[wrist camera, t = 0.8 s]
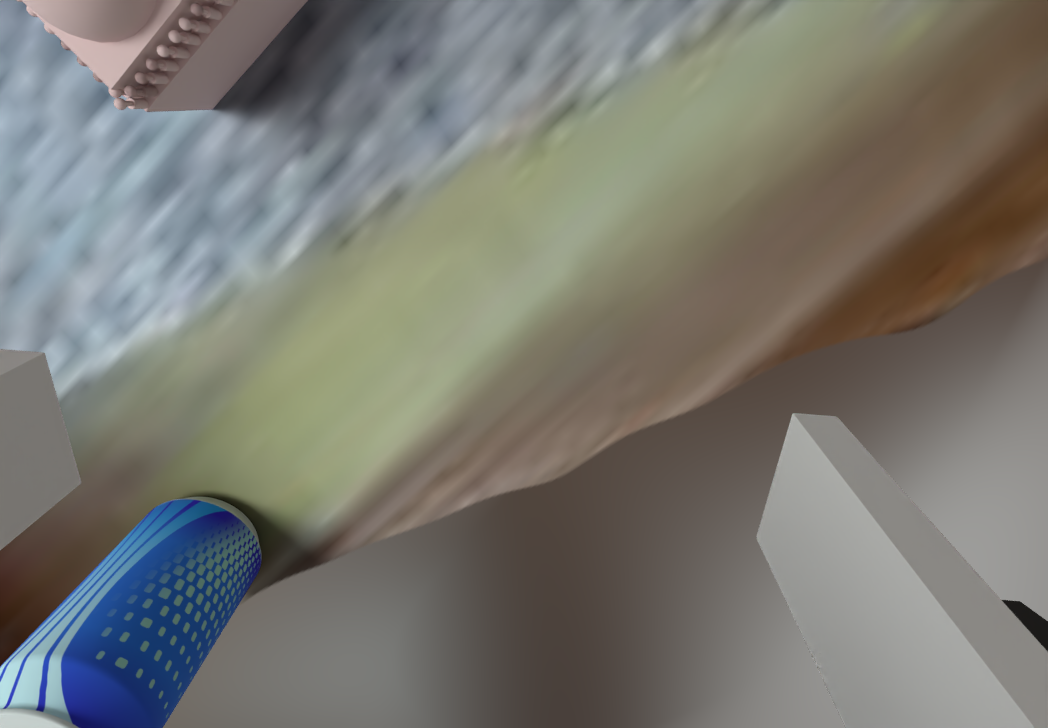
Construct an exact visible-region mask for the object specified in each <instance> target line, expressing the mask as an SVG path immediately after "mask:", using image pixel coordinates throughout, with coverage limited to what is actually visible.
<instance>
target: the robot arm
mask: <svg viewBox="0 0 1048 728" xmlns="http://www.w3.org/2000/svg"><path fill="white" fill-rule="evenodd" d="M79 484H81V479H80V476H79V472H78V469H77V465H76V462H75V458H74V455H73V451H72V448H71V444H70V441H69V437H68V434H67V430H66V427H65V423H64V420H63V416H62V413H61V409H60V405H59V402H58V398H57V395H56V391H55V388H54V384H53V381H52V377H51V374H50V370H49V367H48V363H47V360H46V356H45V353H41V352H29V351H16V350H4V349H1V350H0V550H1V549H2V548H3V547H5V546H6V545H7V544H8V543H10V542H11V541H12V540H13V539H14V538H16V537H17V536H18V535H19V534H20V533H22V532H23V531H24V530H25V529H26V528H28V527H29V526H30V525H31V524H32V523H34V522H35V521H36V520H37V519H38V518H40V517H41V516H42V515H43V514H44V513H46V512H47V511H48V510H49V509H50V508H52V507H53V506H54V505H55V504H56V503H58V502H59V501H60V500H61V499H62V498H64V497H65V496H66V495H67V494H69V493H70V492H71V491H72V490H73V489H75V488H76V487H77V486H78V485H79ZM756 538H757V541H758V543H759V545H760V547H761V549H762V551H763V553H764V556H765V558H766V559H767V562H768V564H769V566H770V568H771V570H772V572H773V575H774V577H775V579H776V581H777V583H778V585H779V587H780V590H781V592H782V594H783V596H784V598H785V600H786V602H787V605H788V607H789V609H790V611H791V613H792V615H793V617H794V619H795V622H796V624H797V626H798V628H799V630H800V632H801V634H802V637H803V639H804V641H805V643H806V645H807V647H808V649H809V651H810V654H811V656H812V658H813V660H814V662H815V664H816V666H817V668H818V670H819V673H820V675H821V677H822V679H823V681H824V683H825V685H826V688H827V690H828V692H829V694H830V696H831V698H832V700H833V703H834V704H835V707H836V709H837V711H838V713H839V715H840V717H841V720H842V722H843V724H844V726H845V728H1048V621H1046V620H1045V619H1043V618H1042V617H1041V616H1039V615H1038V614H1037V613H1035V612H1034V611H1032V610H1031V609H1030V608H1028V607H1027V606H1026V605H1024V604H1023V603H1021V602H1020V601H1008V600H1001V599H1000V598H999V597H998V596H997V595H996V594H995V592H994V591H993V590H992V589H991V588H990V587H989V586H988V585H987V584H986V583H985V581H984V580H983V579H982V578H981V577H980V576H979V575H978V574H977V572H976V571H975V570H974V569H973V568H972V567H971V566H970V565H969V564H968V563H967V561H966V560H965V559H964V558H963V557H962V556H961V555H960V554H959V552H958V551H957V550H956V549H955V548H954V547H953V546H952V545H951V543H950V542H949V541H948V540H947V539H946V538H945V537H944V536H943V534H942V533H941V532H940V531H939V530H938V529H937V528H936V527H935V526H934V524H933V523H932V522H931V521H930V520H929V519H928V518H927V517H926V516H925V515H924V513H923V512H922V511H921V510H920V509H919V508H918V507H917V506H916V504H915V503H914V502H913V501H912V500H911V499H910V498H909V497H908V495H906V493H905V492H904V491H903V490H902V489H901V488H900V487H899V485H898V484H897V483H896V482H895V481H894V480H893V479H892V478H891V476H889V474H888V473H887V472H886V471H885V470H884V469H883V468H882V466H881V465H880V464H879V463H878V462H877V461H876V460H875V459H874V458H873V456H872V455H871V454H870V453H869V452H868V451H867V450H866V449H865V448H864V446H862V444H861V443H860V442H859V441H858V440H857V439H856V437H855V436H854V435H853V434H852V433H851V432H850V431H849V430H848V429H847V427H846V426H845V425H844V424H843V423H842V422H841V421H840V420H839V419H838V417H836V416H825V415H812V414H799V413H793V414H792V418H791V421H790V424H789V427H788V431H787V434H786V438H785V442H784V445H783V448H782V451H781V455H780V458H779V462H778V465H777V468H776V472H775V475H774V479H773V482H772V485H771V489H770V492H769V496H768V499H767V502H766V506H765V509H764V513H763V516H762V520H761V523H760V526H759V530H758V533H757V537H756Z"/></svg>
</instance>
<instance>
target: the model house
mask: <svg viewBox="0 0 1048 728" xmlns="http://www.w3.org/2000/svg"><path fill="white" fill-rule="evenodd" d="M17 1H19V2H24V3H25V4H26V5H27V11H28V13H29V14H30V15H32V16H34V17H39V18H40V19H41V20H42V21H43V22H44V23H45V24H44V28H45V30H46V31H47V32H48V33H50V34H56V35H57V36H58V37H59V38H60V39H61V45H62V47H63V48H64V49H66V50H72V51H73V52H74V53H75V54H76V55H77V61H78V63H79V64H80V65H82V66H88V67H89V68H90V69H91V70H92V71H93V77H94V79H95V80H96V81H98V82H104V83H105V84H106V85H107V86H108V87H109V93H110V95H111V96H113V97H115V98H116V99H115V100H114V105H115V107H116V108H117V109H119V110H124V109H126V107H128V108H130V109H144V110H145V111H146V112H155V111H186V110H212V109H213V108H214V107H215V106H216V105H217V104H218V102H219V101H220V100H221V99H222V98H223V97H224V96H225V94H226V93H227V92H228V91H229V90H230V89H231V88H232V86H233V85H234V84H235V83H236V82H237V81H238V80H239V78H240V77H241V76H242V75H243V74H244V73H245V72H246V70H247V69H248V68H249V67H250V66H251V65H252V64H253V62H254V61H255V60H256V59H257V58H258V57H259V56H260V55H261V53H262V52H263V51H264V50H265V49H266V48H267V47H268V45H269V44H270V43H271V42H272V41H273V40H274V39H275V37H276V36H277V35H278V34H279V33H280V32H281V31H282V29H283V28H284V27H285V26H286V25H287V24H288V23H289V21H290V20H291V19H292V18H293V17H294V16H295V15H296V13H297V12H298V11H299V10H300V9H301V8H302V7H303V5H304V4H305V3H306V2H307V1H308V0H17ZM121 95H123V96H124V97H126V98H128V99H126V101H125V100H123V99H121V98H118V97H120V96H121Z"/></svg>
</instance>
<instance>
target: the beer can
mask: <svg viewBox="0 0 1048 728" xmlns="http://www.w3.org/2000/svg"><path fill="white" fill-rule="evenodd" d="M261 560H262V555H261V549H260V545H259V539H258V535H257V532H256V530H255V528H254V526H253V524H252V523H251V521H250V520H249V519H248V518H247V517H246V516H245V515H244V514H243V513H242V512H241V511H240V510H238V509H237V508H235V507H234V506H232V505H230V504H228V503H226V502H224V501H221V500H218V499H215V498H210V497H189V498H185V499H176V500H171V501H167V502H165V503H162V504H160V505H159V506H157V507H156V508H154V509H153V510H152V511H150V512H149V513H148V514H147V516H146V517H145V518H144V519H143V520H142V521H141V522H140V523H139V524H138V525H137V526H136V527H135V528H134V529H133V530H132V531H131V532H130V533H129V534H128V535H127V536H126V537H125V538H124V539H123V540H122V541H121V542H120V543H119V544H118V545H117V547H116V548H115V549H114V550H113V551H112V552H111V553H110V554H109V555H108V556H107V557H106V558H105V559H104V560H103V561H102V562H101V563H100V564H99V565H98V566H97V567H96V568H95V569H94V570H93V571H92V572H91V573H90V574H89V575H88V576H87V577H86V579H85V580H84V581H83V582H82V583H81V584H80V585H79V586H78V587H77V588H76V589H75V590H74V591H73V592H72V593H71V594H70V595H69V596H68V597H67V598H66V599H65V600H64V601H63V602H62V603H61V604H60V605H59V606H58V607H57V608H56V609H55V611H54V612H53V613H52V614H51V615H50V616H49V617H48V618H47V619H46V620H45V621H44V622H43V623H42V624H41V625H40V626H39V627H38V628H37V629H36V630H35V631H34V632H33V633H32V634H31V635H30V636H29V637H28V638H27V639H26V640H25V642H24V643H23V644H22V645H21V646H20V647H19V648H18V649H17V650H16V651H15V652H14V653H13V654H12V655H11V656H10V657H9V658H8V659H7V660H6V661H5V662H4V663H3V664H2V665H1V666H0V728H163V726H164V725H165V723H166V722H167V720H168V718H169V717H170V715H171V713H172V712H173V710H174V708H175V707H176V705H177V704H178V702H179V700H180V699H181V697H182V696H183V694H184V692H185V691H186V689H187V687H188V686H189V684H190V682H191V681H192V679H193V678H194V676H195V674H196V673H197V671H198V670H199V668H200V666H201V665H202V663H203V661H204V660H205V658H206V657H207V655H208V653H209V651H210V650H211V649H212V647H213V645H214V644H215V642H216V640H217V639H218V637H219V636H220V634H221V632H222V630H223V629H224V627H225V626H226V624H227V623H228V621H229V619H230V618H231V616H232V614H233V613H234V611H235V610H236V608H237V606H238V605H239V603H240V602H241V600H242V598H243V597H244V595H245V593H246V592H247V590H248V589H249V587H250V585H251V584H252V582H253V580H254V579H255V577H256V576H257V574H258V572H259V569H260V566H261Z"/></svg>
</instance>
